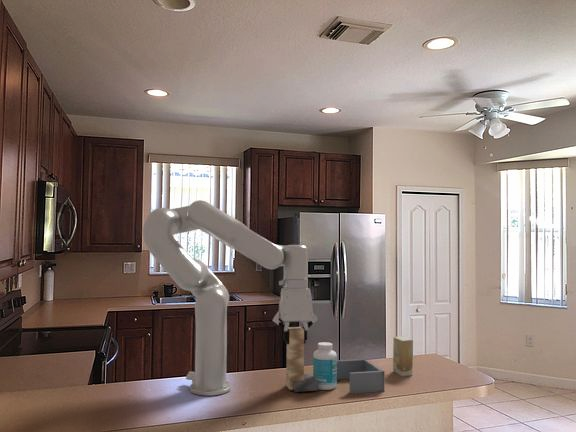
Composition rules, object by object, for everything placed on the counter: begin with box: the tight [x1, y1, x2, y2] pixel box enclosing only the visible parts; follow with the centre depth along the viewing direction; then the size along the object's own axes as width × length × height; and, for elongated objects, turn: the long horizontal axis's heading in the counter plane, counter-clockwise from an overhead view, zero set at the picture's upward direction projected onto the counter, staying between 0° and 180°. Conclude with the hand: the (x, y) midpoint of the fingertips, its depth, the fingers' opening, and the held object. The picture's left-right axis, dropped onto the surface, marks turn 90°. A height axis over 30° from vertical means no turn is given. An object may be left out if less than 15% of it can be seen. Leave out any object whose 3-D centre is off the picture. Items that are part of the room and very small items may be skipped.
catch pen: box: [337, 358, 385, 394], centre depth 150 cm, size 11×15×6 cm
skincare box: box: [392, 335, 414, 377], centre depth 163 cm, size 6×4×12 cm
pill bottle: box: [312, 341, 338, 391], centre depth 148 cm, size 8×7×14 cm
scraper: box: [285, 326, 319, 393], centre depth 146 cm, size 8×9×18 cm
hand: (295, 342), depth 146 cm, fingers closed on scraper, 4 cm apart
